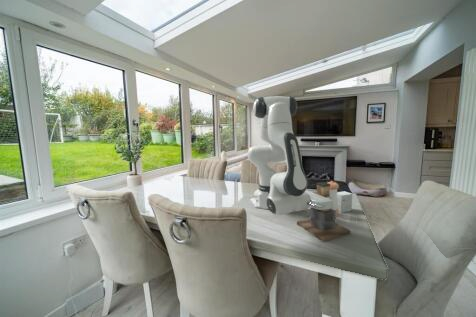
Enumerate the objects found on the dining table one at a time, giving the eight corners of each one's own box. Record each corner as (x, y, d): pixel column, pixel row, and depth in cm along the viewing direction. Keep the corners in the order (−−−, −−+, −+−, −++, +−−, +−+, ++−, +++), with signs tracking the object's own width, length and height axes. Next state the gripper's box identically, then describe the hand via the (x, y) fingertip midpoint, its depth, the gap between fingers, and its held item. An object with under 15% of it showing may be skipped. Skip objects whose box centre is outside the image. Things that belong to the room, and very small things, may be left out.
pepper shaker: (332, 217, 108) (333, 183, 106) (321, 213, 115) (322, 180, 112) (340, 214, 112) (342, 181, 109) (329, 210, 118) (330, 178, 115)
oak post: (315, 224, 98) (316, 183, 95) (322, 222, 100) (323, 182, 97) (322, 228, 94) (323, 185, 91) (329, 226, 96) (330, 184, 93)
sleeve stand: (296, 224, 103) (296, 205, 101) (321, 218, 108) (321, 200, 107) (323, 241, 86) (323, 219, 84) (350, 233, 92) (351, 213, 90)
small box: (343, 207, 122) (344, 190, 120) (351, 211, 116) (352, 193, 115) (333, 209, 119) (334, 192, 118) (341, 213, 114) (341, 195, 112)
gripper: (317, 200, 80) (343, 195, 85) (287, 187, 99) (309, 184, 104) (317, 215, 81) (342, 209, 86) (287, 200, 100) (309, 195, 105)
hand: (324, 195), depth 95 cm, fingers open, 6 cm apart
